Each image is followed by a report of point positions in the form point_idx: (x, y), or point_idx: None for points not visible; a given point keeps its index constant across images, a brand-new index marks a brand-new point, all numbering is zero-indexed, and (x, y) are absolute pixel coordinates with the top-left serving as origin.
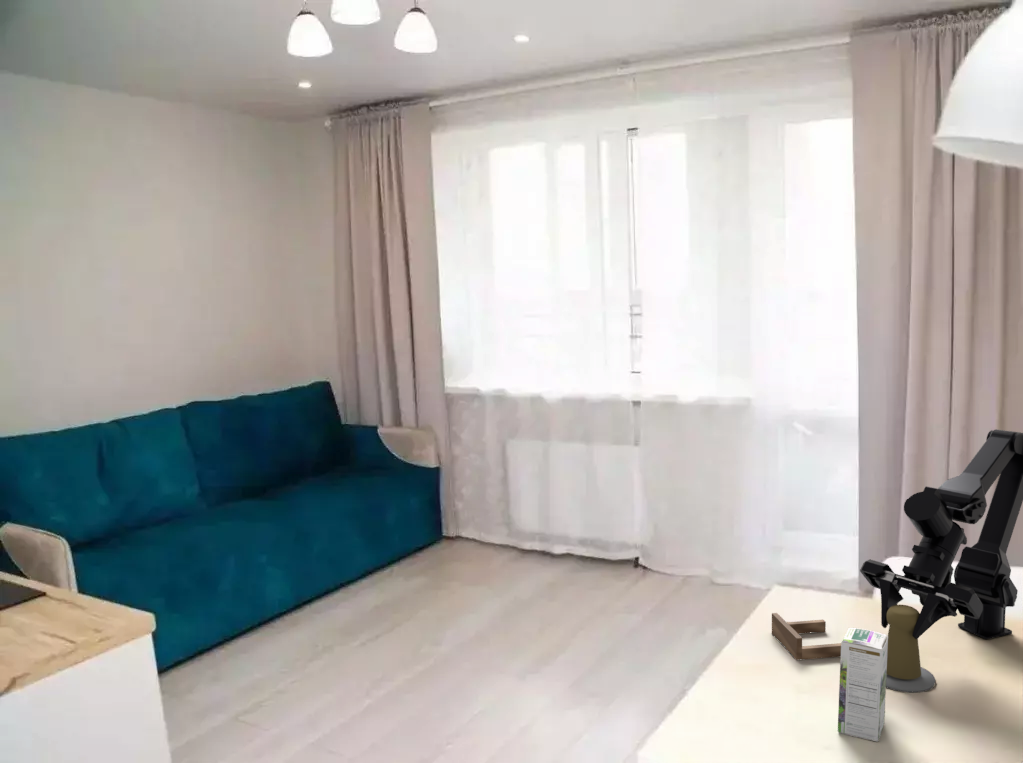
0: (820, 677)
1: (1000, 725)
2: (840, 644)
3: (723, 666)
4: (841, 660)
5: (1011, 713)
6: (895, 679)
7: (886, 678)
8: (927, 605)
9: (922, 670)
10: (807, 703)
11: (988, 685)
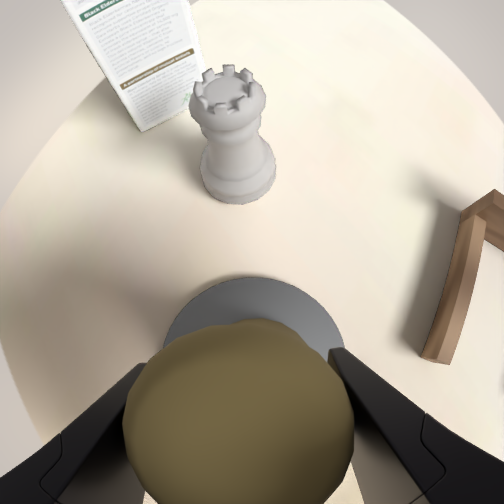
0: (374, 184)
1: (11, 328)
2: (454, 331)
3: (471, 90)
4: None
5: (22, 393)
6: None
7: (263, 311)
8: (28, 492)
9: None
10: (294, 80)
11: None
